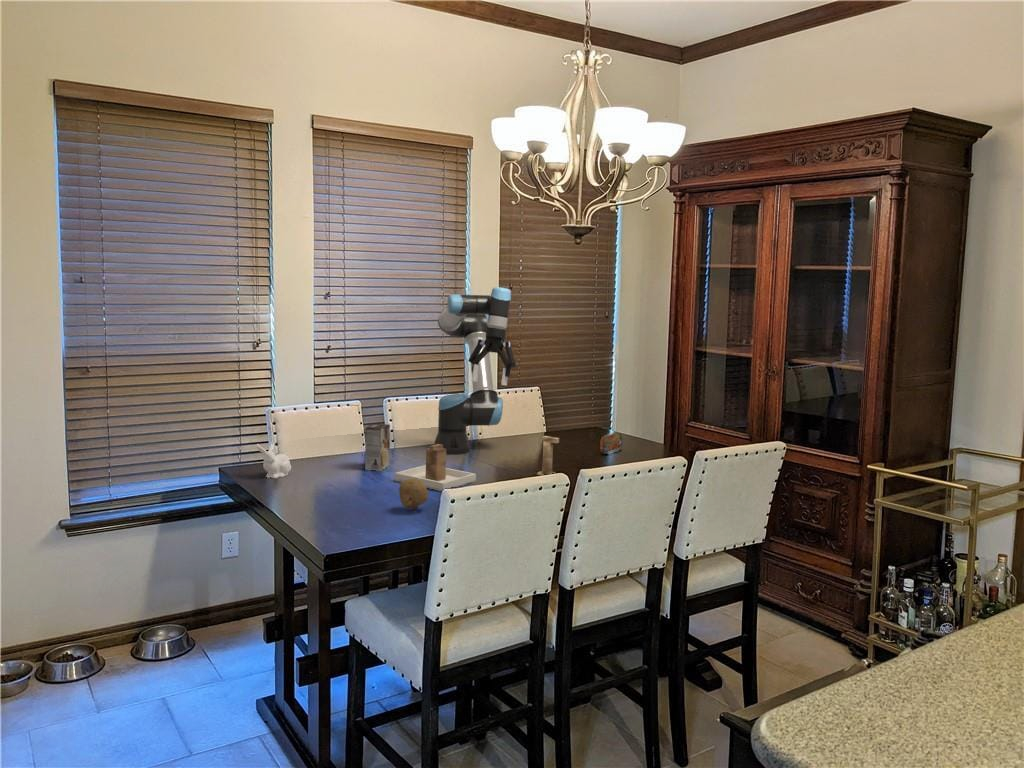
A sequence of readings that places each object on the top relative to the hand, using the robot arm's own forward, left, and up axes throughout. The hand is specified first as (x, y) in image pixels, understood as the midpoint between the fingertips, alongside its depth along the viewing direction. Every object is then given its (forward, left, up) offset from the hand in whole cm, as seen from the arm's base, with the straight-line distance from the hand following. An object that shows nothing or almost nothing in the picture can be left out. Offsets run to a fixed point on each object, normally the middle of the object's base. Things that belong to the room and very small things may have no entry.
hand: (488, 383), depth 311 cm
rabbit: (-45, -65, -32) cm, 85 cm away
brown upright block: (+2, -33, -31) cm, 45 cm away
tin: (+26, +53, -32) cm, 67 cm away
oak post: (+27, +1, -32) cm, 42 cm away
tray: (+2, -33, -32) cm, 46 cm away
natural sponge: (+19, -64, -32) cm, 74 cm away
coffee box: (-27, -32, -32) cm, 53 cm away
